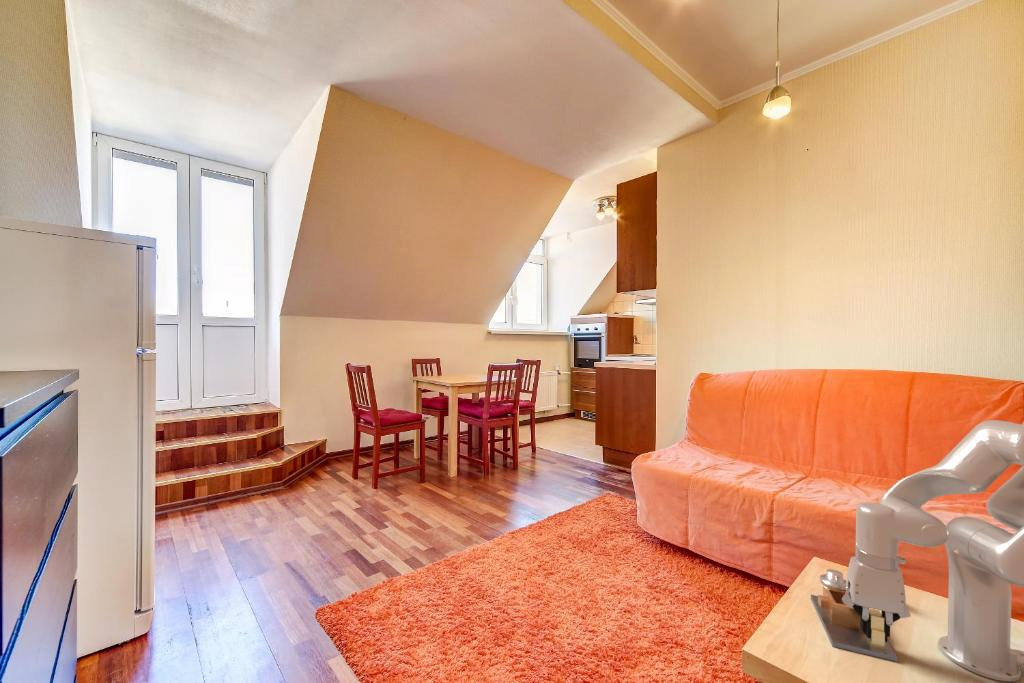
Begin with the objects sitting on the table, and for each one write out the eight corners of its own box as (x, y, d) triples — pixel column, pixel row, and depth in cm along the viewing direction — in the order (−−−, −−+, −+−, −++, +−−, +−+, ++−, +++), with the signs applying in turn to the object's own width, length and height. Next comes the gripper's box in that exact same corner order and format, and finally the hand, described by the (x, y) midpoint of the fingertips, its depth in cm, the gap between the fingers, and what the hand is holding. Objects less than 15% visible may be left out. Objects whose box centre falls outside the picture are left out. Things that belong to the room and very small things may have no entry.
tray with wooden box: (861, 606, 116) (862, 572, 116) (897, 662, 96) (898, 621, 96) (809, 595, 120) (809, 563, 120) (832, 646, 100) (833, 607, 100)
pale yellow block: (877, 638, 101) (878, 609, 101) (884, 649, 98) (885, 619, 98) (865, 635, 102) (865, 606, 102) (871, 646, 99) (872, 616, 99)
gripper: (912, 557, 100) (911, 635, 100) (829, 544, 106) (828, 617, 107) (929, 574, 93) (927, 657, 93) (839, 558, 99) (837, 637, 100)
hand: (874, 635), depth 100 cm, fingers closed on pale yellow block, 2 cm apart
